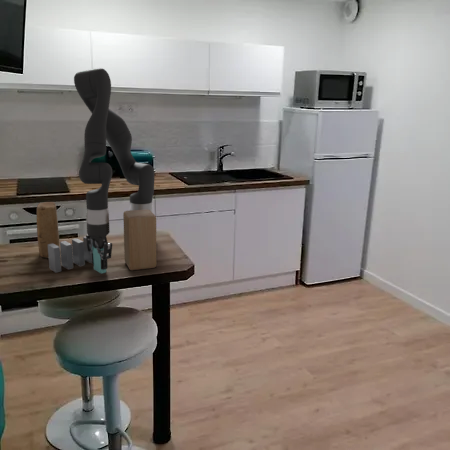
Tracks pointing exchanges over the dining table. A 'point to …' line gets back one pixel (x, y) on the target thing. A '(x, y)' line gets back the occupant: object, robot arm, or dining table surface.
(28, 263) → the dining table surface
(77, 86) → the robot arm
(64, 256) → the domino
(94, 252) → the domino
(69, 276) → the dining table surface
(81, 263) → the domino
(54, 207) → the block
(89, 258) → the domino
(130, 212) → the wooden block
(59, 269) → the domino
